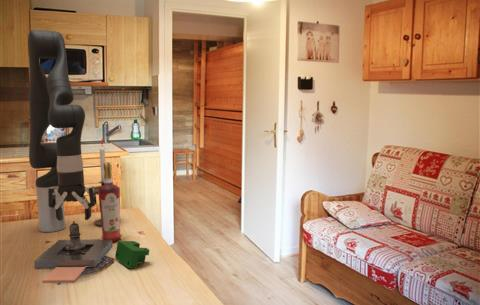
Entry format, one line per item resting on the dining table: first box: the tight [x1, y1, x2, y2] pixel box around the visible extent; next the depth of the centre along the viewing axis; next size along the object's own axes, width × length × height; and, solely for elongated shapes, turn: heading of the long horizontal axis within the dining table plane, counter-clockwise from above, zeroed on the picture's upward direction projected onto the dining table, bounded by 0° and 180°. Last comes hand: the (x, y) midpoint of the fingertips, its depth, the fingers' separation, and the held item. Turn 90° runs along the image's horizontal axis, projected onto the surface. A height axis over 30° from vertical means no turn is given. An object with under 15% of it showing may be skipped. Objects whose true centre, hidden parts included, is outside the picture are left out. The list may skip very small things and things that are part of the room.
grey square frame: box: [33, 238, 113, 270], centre depth 136 cm, size 18×18×2 cm
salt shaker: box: [66, 220, 85, 255], centre depth 135 cm, size 6×6×12 cm
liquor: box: [97, 161, 122, 243], centre depth 149 cm, size 7×7×28 cm
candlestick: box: [93, 137, 106, 228], centre depth 168 cm, size 11×11×35 cm
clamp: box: [114, 240, 150, 269], centre depth 132 cm, size 12×6×9 cm, turn 33°
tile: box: [41, 267, 87, 283], centre depth 122 cm, size 9×9×1 cm
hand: (73, 219), depth 134 cm, fingers open, 8 cm apart
